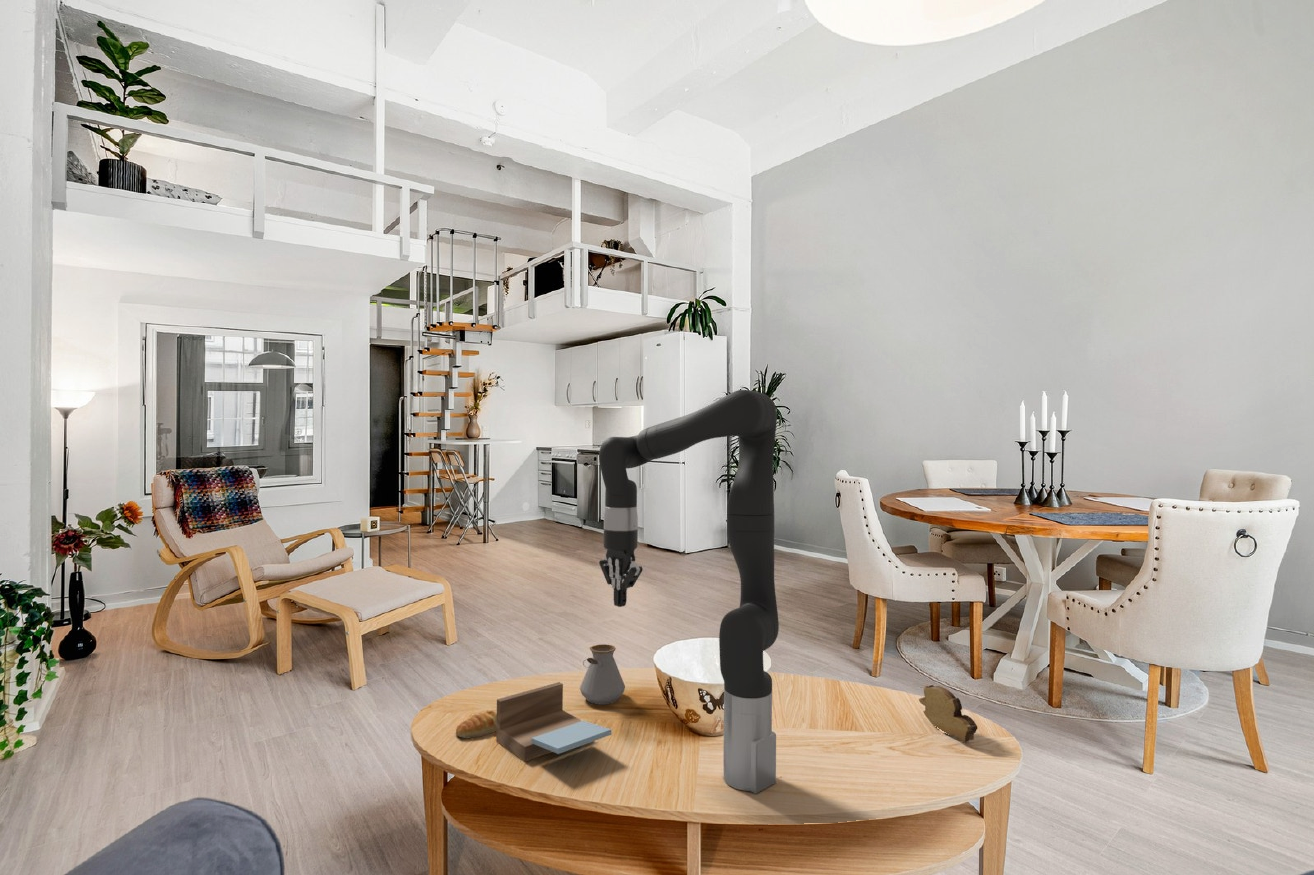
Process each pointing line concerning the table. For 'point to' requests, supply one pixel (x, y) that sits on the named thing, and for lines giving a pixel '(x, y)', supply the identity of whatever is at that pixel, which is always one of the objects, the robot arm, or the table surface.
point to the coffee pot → (602, 676)
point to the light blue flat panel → (571, 736)
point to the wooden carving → (947, 713)
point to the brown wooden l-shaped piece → (531, 719)
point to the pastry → (478, 725)
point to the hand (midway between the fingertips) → (619, 605)
